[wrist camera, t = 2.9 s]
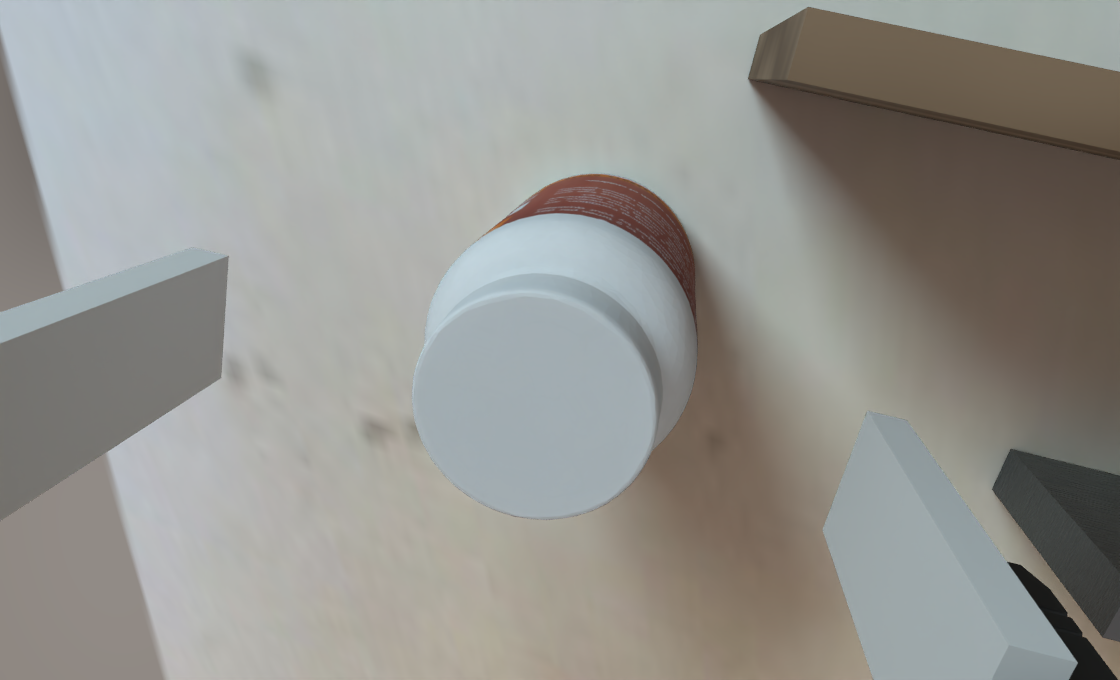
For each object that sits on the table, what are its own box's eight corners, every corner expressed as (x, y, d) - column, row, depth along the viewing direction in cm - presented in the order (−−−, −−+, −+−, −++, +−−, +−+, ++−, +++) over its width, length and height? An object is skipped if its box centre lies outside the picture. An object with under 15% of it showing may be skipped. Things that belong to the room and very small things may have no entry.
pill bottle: (522, 149, 24) (394, 205, 13) (718, 197, 23) (746, 294, 13) (485, 334, 26) (351, 507, 15) (665, 381, 25) (651, 593, 15)
